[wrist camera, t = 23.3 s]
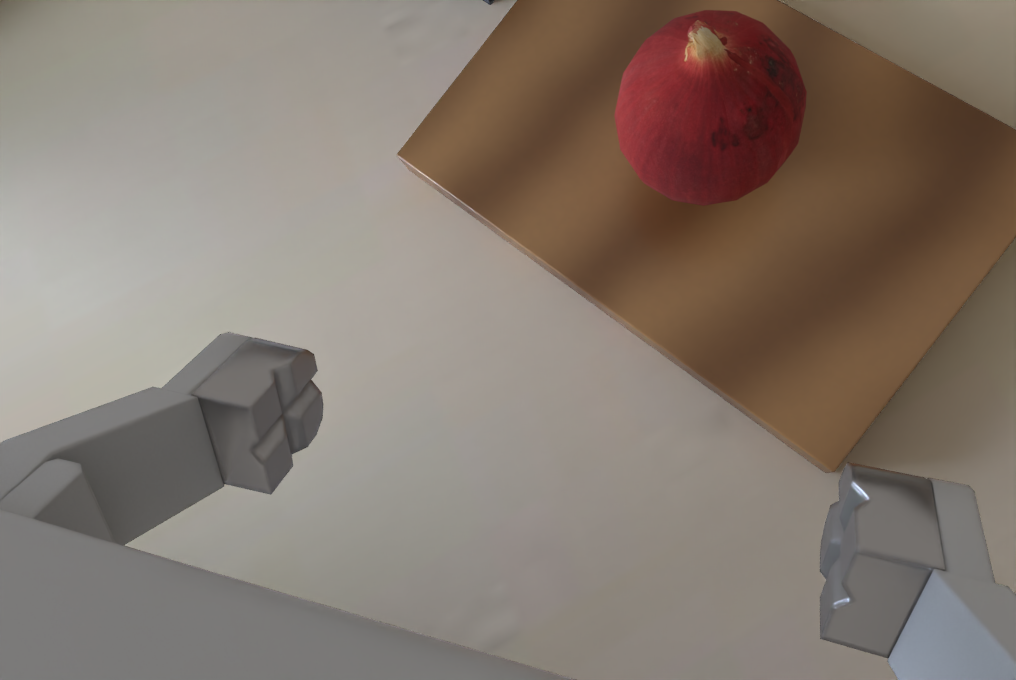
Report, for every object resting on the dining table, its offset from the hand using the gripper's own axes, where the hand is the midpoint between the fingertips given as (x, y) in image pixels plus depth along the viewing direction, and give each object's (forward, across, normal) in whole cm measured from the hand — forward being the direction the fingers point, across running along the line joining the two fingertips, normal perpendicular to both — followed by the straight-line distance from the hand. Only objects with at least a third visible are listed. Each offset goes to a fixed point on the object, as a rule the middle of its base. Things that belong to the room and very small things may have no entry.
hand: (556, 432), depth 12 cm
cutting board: (+20, 0, +4) cm, 21 cm away
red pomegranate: (+19, -1, +3) cm, 20 cm away
